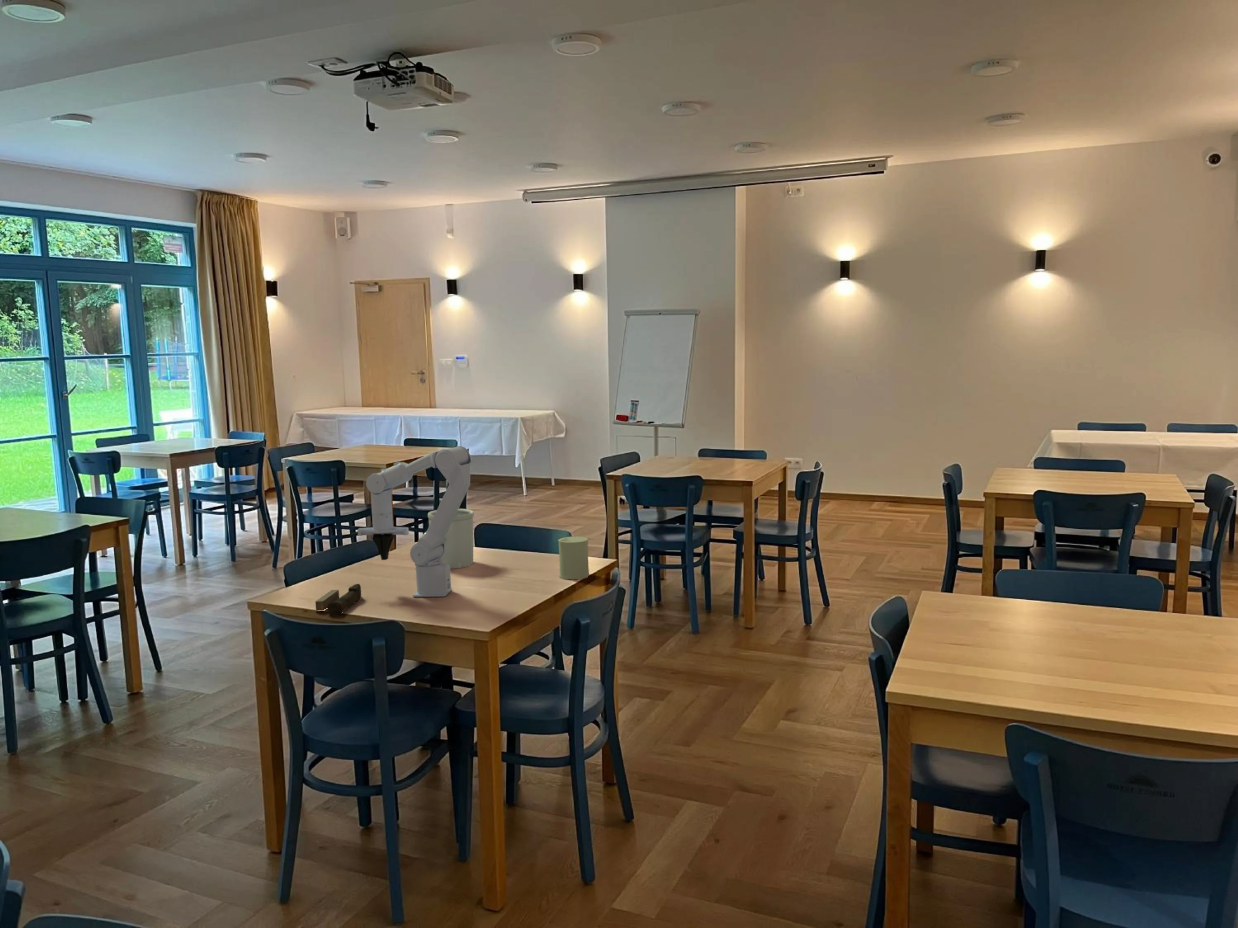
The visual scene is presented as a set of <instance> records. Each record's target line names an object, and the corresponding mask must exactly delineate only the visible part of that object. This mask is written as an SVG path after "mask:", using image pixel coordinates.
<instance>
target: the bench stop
mask: <svg viewBox="0 0 1238 928" xmlns="http://www.w3.org/2000/svg"><path fill="white" fill-rule="evenodd" d="M339 598H340V590H339V589H331V590H329V591H328V592H327V593H325V594H324V595H322V596H321V597H320V598H318V599H316V601H315V602H314V603H315V611H316V610H324V609H326V608H328V604H329V603H333V602H334V601H336V600H337V599H339Z"/></svg>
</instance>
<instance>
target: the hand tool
mask: <svg viewBox="0 0 1238 928" xmlns="http://www.w3.org/2000/svg"><path fill="white" fill-rule="evenodd" d="M360 598H361V599H362V586H361V584H360V583H356V584H353V585H352V586H349V587H348V591H347V592H346V593H345V594H344V595H341V596H339V599H337V600H336V601H334V602H333V603H329V604H328V609H327V614H328V615H329V616H330V617H331V616H332V617H333V616H335V617H337V616H338V615H339V616H341V615H342V614H343V613H344V611H345V610H346V609H348V608H349V607H351V606H352V605H353V604H354V602H357V603H359V602H360V600H361V599H360ZM358 601H359V602H358ZM342 612H343V613H342ZM341 613H342V614H341ZM340 614H341V615H340Z"/></svg>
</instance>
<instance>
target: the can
mask: <svg viewBox="0 0 1238 928" xmlns="http://www.w3.org/2000/svg"><path fill="white" fill-rule="evenodd" d="M557 541H558V553H559V555H558V557H559V558H558V560H559V578H560V577H561V578H560V579H562V578H563V579H562V580H567V579H578V580H583V579H587V578H589V577H590V572H589V571H590V568H589V539H588V537H585V536H566V537H565V536H564V537H561V538H559V539H558V540H557ZM588 576H589V577H588Z"/></svg>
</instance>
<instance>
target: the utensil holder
mask: <svg viewBox="0 0 1238 928" xmlns="http://www.w3.org/2000/svg"><path fill="white" fill-rule="evenodd" d="M436 511H437V509H436V510H431V511H429V512H428V513H427V518H428V527H429V526H430V523H431V521H432V519H433V517H434V515H435V513H436ZM445 537H446V539H447V542H446V544H445V553H444V555H443V556H442V557H441V559H442V561H441V563H447V564H449V566H450V570H452V569H453V570H455V569H464V568H467V567H470V566H472V565H473V564H474V510H471V509H467V508H459V509H458V511H457V513H456V515H455V517H454V519H453V521H452V523H451V525H450V527H449V529H448V531H447V533H446V535H445Z"/></svg>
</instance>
